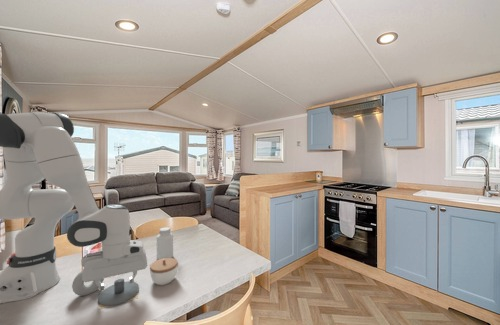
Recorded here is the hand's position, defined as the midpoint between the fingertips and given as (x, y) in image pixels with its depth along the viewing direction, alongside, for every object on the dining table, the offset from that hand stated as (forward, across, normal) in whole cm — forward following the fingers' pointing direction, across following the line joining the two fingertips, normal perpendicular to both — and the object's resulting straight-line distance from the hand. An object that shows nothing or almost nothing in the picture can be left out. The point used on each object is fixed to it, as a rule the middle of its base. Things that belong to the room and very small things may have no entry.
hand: (117, 285), depth 79 cm
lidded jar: (+5, +16, +3) cm, 17 cm away
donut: (+5, -10, +8) cm, 13 cm away
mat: (+5, +1, +1) cm, 5 cm away
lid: (+4, +1, +1) cm, 4 cm away
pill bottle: (+4, +20, +26) cm, 33 cm away
